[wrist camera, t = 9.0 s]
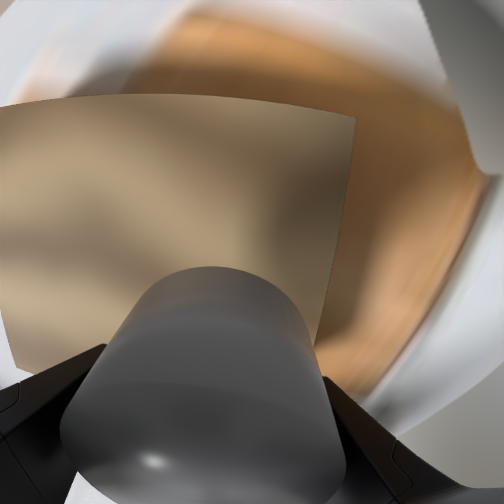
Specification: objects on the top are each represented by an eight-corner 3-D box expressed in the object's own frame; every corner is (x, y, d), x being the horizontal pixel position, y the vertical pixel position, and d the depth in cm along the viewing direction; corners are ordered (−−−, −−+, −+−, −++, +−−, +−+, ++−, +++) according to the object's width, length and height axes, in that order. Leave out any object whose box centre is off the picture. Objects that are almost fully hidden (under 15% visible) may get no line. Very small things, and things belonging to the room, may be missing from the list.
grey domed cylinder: (309, 409, 11) (331, 524, 6) (153, 415, 11) (121, 520, 6) (308, 257, 9) (365, 366, 4) (108, 273, 9) (13, 368, 4)
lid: (290, 415, 17) (291, 422, 16) (20, 362, 16) (16, 367, 16) (351, 118, 12) (356, 117, 12) (-3, 109, 12) (-10, 109, 11)
